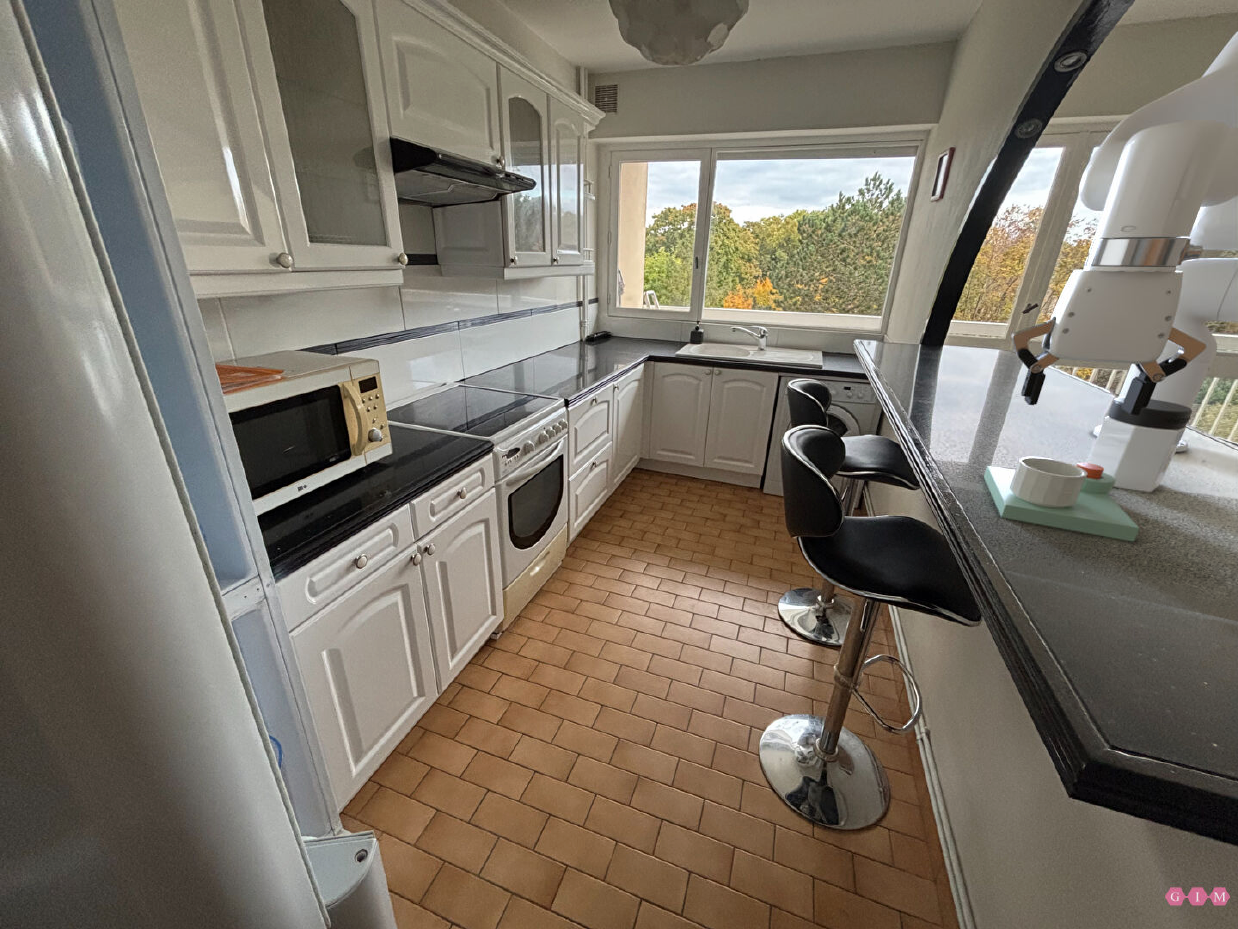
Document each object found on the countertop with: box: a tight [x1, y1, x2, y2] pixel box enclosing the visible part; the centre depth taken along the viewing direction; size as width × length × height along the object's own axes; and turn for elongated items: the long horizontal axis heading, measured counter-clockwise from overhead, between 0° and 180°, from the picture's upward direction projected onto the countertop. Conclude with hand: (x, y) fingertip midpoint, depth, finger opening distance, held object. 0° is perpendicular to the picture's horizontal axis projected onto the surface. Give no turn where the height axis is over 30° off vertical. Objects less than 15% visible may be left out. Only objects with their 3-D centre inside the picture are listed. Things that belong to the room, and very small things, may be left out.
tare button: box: [1076, 462, 1104, 479], centre depth 70 cm, size 3×3×2 cm
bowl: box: [1010, 456, 1088, 508], centre depth 65 cm, size 7×7×4 cm
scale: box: [983, 465, 1141, 543], centre depth 68 cm, size 16×14×4 cm
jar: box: [1086, 397, 1193, 493], centre depth 75 cm, size 9×8×12 cm
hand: (1077, 407), depth 62 cm, fingers open, 9 cm apart
